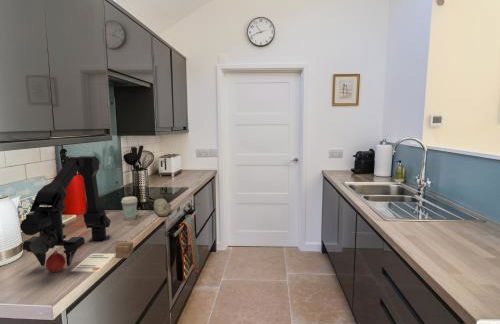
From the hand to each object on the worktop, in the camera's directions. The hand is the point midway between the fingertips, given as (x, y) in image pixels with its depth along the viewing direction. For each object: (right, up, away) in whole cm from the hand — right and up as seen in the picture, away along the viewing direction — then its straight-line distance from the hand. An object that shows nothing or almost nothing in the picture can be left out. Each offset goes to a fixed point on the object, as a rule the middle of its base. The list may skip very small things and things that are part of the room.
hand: (56, 265), depth 100 cm
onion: (0, -3, 0) cm, 3 cm away
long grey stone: (+14, +7, +77) cm, 79 cm away
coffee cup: (+2, +5, +58) cm, 58 cm away
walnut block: (+19, -1, +13) cm, 23 cm away
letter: (+10, -2, +7) cm, 12 cm away
